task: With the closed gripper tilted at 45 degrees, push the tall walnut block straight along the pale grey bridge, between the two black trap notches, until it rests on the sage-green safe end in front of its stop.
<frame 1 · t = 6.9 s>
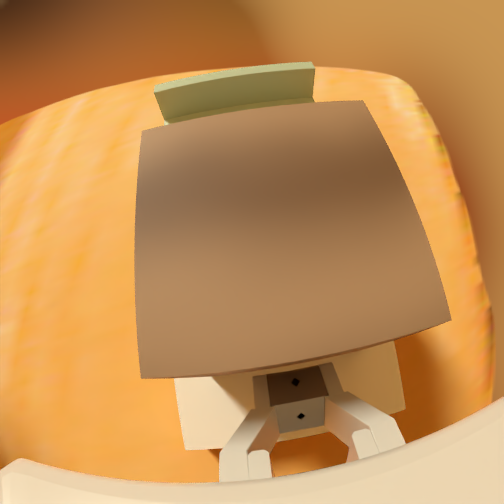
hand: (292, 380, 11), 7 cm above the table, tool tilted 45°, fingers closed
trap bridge: (263, 246, 21), on the table
walnut block: (275, 292, 16), point 3 cm above the table, touching gripper, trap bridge
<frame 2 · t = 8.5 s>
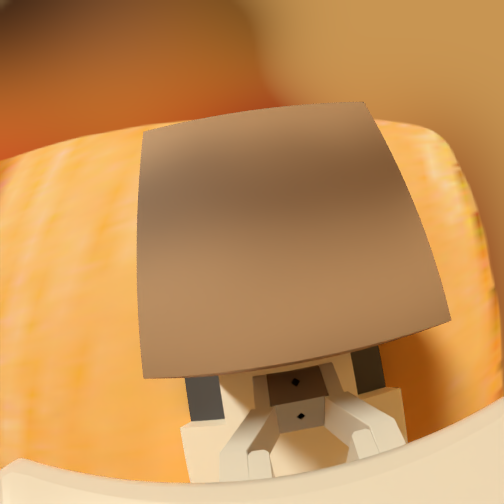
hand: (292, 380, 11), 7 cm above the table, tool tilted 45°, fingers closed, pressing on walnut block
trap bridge: (285, 377, 18), on the table
walnut block: (275, 292, 17), point 3 cm above the table, touching gripper, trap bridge
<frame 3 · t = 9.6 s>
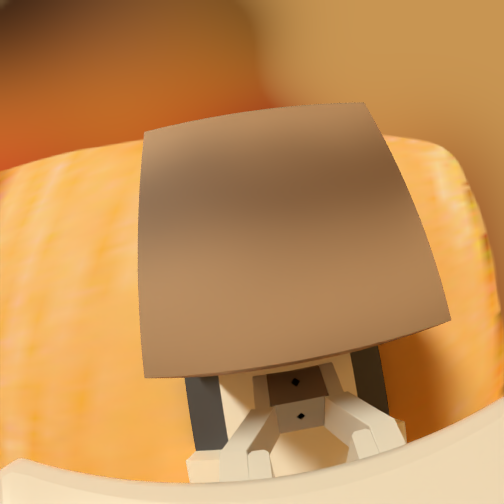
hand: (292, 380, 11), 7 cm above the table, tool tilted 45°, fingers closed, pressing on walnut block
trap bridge: (289, 408, 17), on the table
walnut block: (276, 292, 17), point 3 cm above the table, touching gripper, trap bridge
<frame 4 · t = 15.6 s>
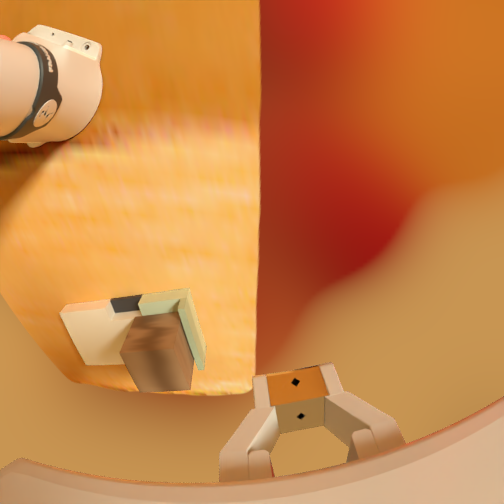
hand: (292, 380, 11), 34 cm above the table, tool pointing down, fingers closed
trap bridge: (132, 326, 50), on the table
walnut block: (165, 334, 47), point 3 cm above the table, touching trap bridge
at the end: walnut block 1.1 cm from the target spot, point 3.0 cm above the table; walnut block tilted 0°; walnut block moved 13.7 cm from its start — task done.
